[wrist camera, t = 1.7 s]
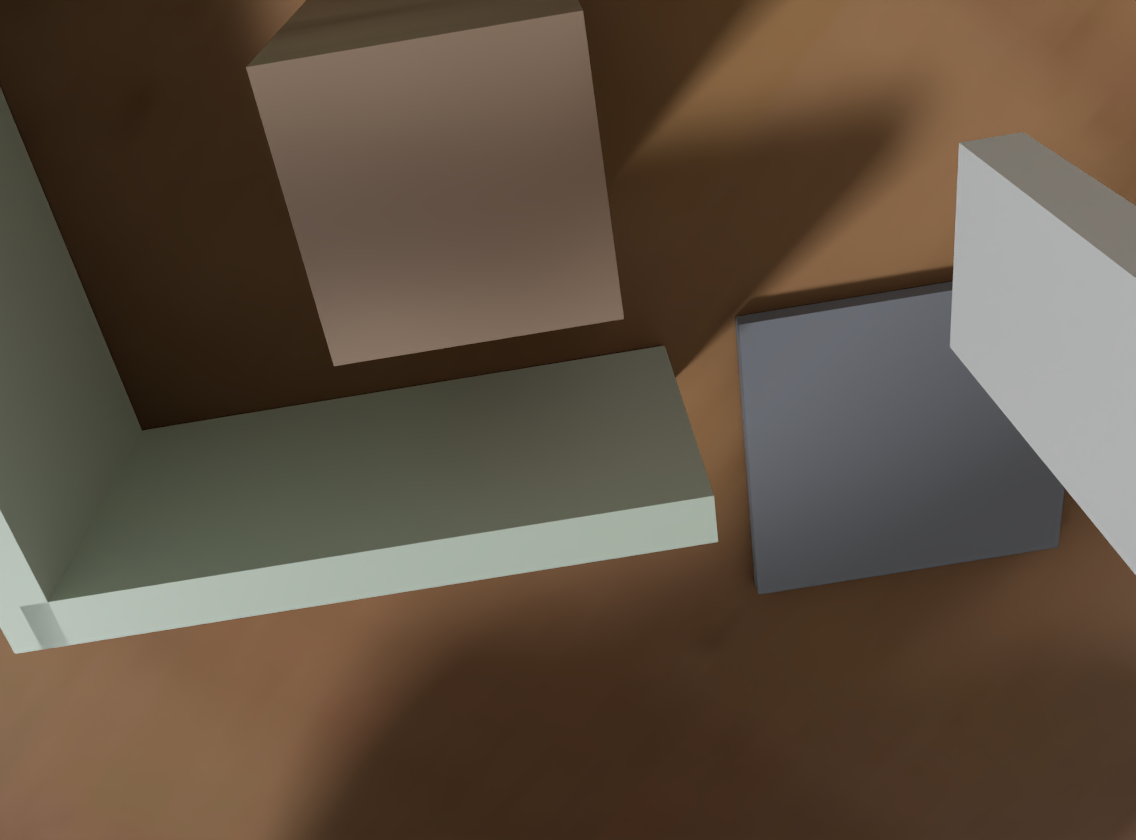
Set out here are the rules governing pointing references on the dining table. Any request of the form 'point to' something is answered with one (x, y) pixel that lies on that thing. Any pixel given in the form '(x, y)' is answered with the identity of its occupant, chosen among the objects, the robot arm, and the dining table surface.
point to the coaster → (879, 446)
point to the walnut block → (440, 170)
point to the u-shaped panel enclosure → (302, 472)
